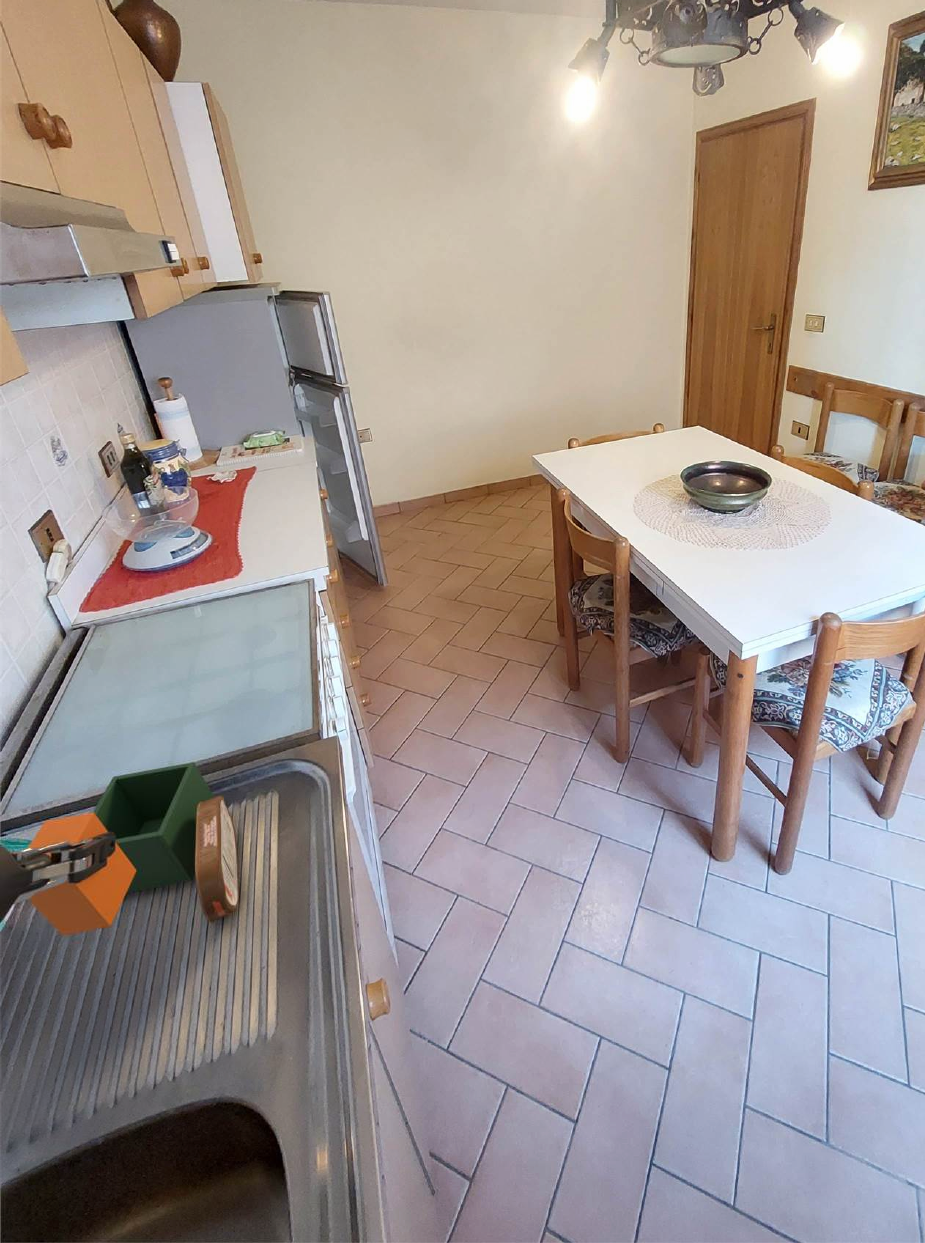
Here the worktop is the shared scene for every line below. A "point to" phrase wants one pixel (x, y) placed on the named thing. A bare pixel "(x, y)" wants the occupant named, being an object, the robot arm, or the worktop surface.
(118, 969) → the worktop surface
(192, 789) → the waste bin
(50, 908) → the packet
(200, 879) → the tin
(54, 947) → the worktop surface
